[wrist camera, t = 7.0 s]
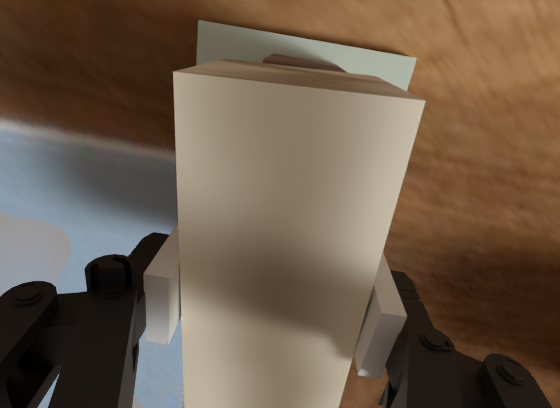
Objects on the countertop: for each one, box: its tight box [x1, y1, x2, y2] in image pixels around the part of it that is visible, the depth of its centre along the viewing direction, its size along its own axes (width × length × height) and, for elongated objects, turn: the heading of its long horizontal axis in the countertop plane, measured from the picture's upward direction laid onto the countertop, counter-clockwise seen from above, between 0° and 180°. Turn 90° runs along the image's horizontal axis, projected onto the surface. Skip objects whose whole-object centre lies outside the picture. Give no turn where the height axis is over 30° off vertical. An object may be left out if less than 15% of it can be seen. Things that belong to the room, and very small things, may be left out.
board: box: [196, 20, 417, 91], centre depth 22 cm, size 12×16×1 cm
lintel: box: [173, 59, 425, 408], centre depth 14 cm, size 6×14×6 cm, turn 174°
